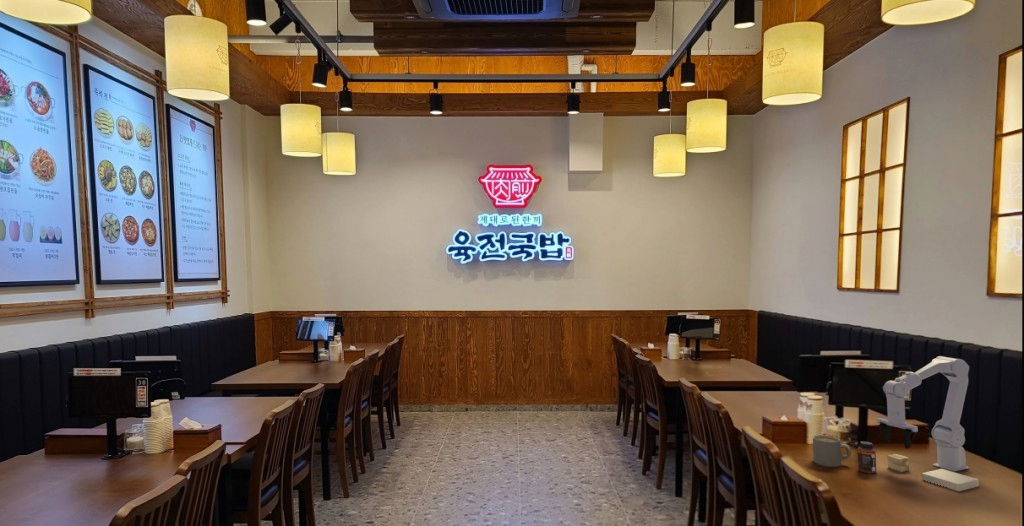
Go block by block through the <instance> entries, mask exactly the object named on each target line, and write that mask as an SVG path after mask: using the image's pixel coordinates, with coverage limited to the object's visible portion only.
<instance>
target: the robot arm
mask: <svg viewBox="0 0 1024 526" xmlns="http://www.w3.org/2000/svg"><path fill="white" fill-rule="evenodd" d="M969 371H970V366H969V364H968V363H967V361H965V360H964V359H962V358H953V357H949V356H948V357H947V356H944V355H939V356H936V358H933V359H932V360H931V361H930V362H929V363H927V364H926V365H925V366H923V367H921V368H919V369H918V370H917V371H915V372H913V371H905V372H904V374H902V375H901V376H899V377H896V378H895V379H894V380H891V379H890V380H888V381H886V382H885V383H884V385H883V386H882V390H883V392H884V394H885V397H886V406H887V407H886V408H887V409H886V410H887V418H882V417H878V418H876V423H877V424H878V425H877V428H878V429H879V431H880V433H881V434H882V437H883V440H884V443H885V444H890V443H891V438H892V437H891V432H892V427H894V428H897V429H898V428H899V429H902V430H901V433H902V435H903V439H904V441H903V442H904V443H903V444H904V448H905V449H906V450H907V449H911V448H912V447H911V446H912V443H913V439H914V438H915V436H916V435H917V433H918V432H919V430H918V429H919V428H918V426H917V425H913V424H910V423H907V422H906V407H905V406H906V405H905V403H906V401H905V397H906V396H907V395H908V393H909V391H911V390H912V389H914V388H917V387H918V386H921V384H922V380H925V379H927V378H929V377H931V376H934V375H936V374H938V373H941V374H942V375H943V376H944V377H946V378H947V379H948V381H949V385H948V390H947V394H946V398H945V403H944V407H943V413H942V417H941V419H939V420H937V421H936V422H935V424H934V426H933V428H932V429H931V436H932V438H933V439H934V440H935V441H934V442H935V443H936V448H937V449H936V451H937V452H936V455H937V462H936V463H932V466H934V467H937V468H939V469H945V470H948V471H952V472H958V471H959V472H960V471H962V470H963V471H964V470H967V469H969V466H967V459H966V457H967V456H966V450H965V448H964V447H963V445H964V444H965V443H966V437H965V432H966V430H965V428H964V427H963V426H962V425H961V424H960V422H961V419H962V413H963V408H964V405H965V403H964V402H965V400H966V399H965V398H966V394H967V390H968V386H969Z"/></svg>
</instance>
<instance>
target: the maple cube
mask: <svg viewBox="0 0 1024 526" xmlns="http://www.w3.org/2000/svg"><path fill="white" fill-rule="evenodd" d="M887 468H888V469H890V468H891V469H890V470H893V469H894V471H896V470H897V472H900V473H904V472H907V470H908V471H910V457H907V456H905V455H900V454H897V453H893V454H889V455H887Z"/></svg>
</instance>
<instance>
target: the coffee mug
mask: <svg viewBox="0 0 1024 526" xmlns="http://www.w3.org/2000/svg"><path fill="white" fill-rule="evenodd" d="M843 448H845V450H846V454H843V453H842V449H843ZM812 449H813V450H812V452H813V455H812V456H813V462H814V463H815V464H817V465H820V466H823V467H828V468H829V467H830V468H837V467H838V466H839V467H840V466H841V467H842V461H843V460H846V459H849V458H850V457H851V454H852V453H851V448H850V446H849V445H848V444H846V443H841V439H840V438H838V437H835V436H832V435H825V434H824V435H823V434H816V435H814V436H812Z"/></svg>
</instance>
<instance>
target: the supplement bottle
mask: <svg viewBox="0 0 1024 526" xmlns="http://www.w3.org/2000/svg"><path fill="white" fill-rule="evenodd" d="M859 444H860V446H859V447H858V448H857V464H858V465H857V467H858V470H859V471H860V472H862V473H865V474H870V475H871V474H872V475H873V474H876V473H877V456H876V455H877V453H876V450H875V448H874V447H873V443H872V442H869V441H866V440H865V441H860V443H859Z"/></svg>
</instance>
